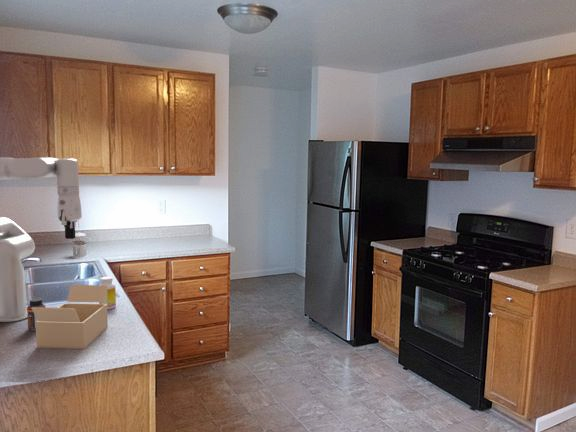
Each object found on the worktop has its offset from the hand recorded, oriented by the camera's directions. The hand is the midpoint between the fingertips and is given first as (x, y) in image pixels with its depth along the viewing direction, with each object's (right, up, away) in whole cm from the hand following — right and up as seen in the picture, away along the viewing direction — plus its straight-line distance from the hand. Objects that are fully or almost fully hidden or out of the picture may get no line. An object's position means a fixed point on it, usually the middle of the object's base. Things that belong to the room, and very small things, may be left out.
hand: (70, 238), depth 182 cm
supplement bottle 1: (-9, -33, -8) cm, 35 cm away
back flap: (+9, -21, -5) cm, 23 cm away
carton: (+8, -34, -15) cm, 38 cm away
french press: (-48, -17, +115) cm, 125 cm away
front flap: (+8, -24, -28) cm, 38 cm away
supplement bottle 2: (+8, -30, +18) cm, 36 cm away
